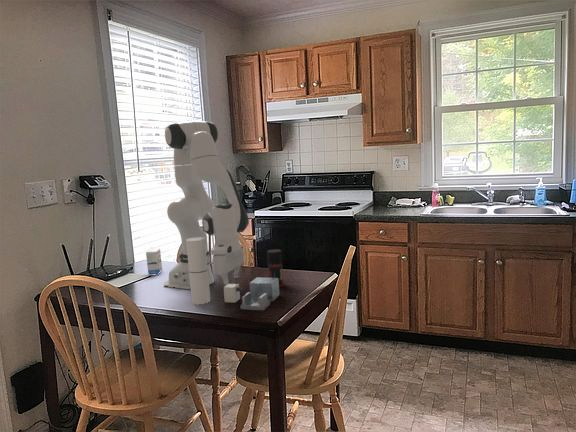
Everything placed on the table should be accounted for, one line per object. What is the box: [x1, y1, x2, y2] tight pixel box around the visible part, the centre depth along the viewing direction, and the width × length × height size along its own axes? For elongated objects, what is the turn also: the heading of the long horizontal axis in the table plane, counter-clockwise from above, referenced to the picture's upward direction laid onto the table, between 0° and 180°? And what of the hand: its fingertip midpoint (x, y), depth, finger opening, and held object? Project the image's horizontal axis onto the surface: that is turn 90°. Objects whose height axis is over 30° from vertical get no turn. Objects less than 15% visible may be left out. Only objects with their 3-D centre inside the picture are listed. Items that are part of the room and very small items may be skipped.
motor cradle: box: [240, 276, 280, 311], centre depth 181 cm, size 20×9×7 cm, turn 162°
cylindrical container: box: [186, 237, 211, 306], centre depth 183 cm, size 7×7×25 cm
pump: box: [223, 283, 243, 303], centre depth 183 cm, size 4×6×6 cm
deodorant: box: [266, 248, 284, 288], centre depth 200 cm, size 6×6×15 cm
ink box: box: [145, 248, 163, 275], centre depth 235 cm, size 9×5×12 cm, turn 179°
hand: (231, 280), depth 182 cm, fingers open, 8 cm apart
